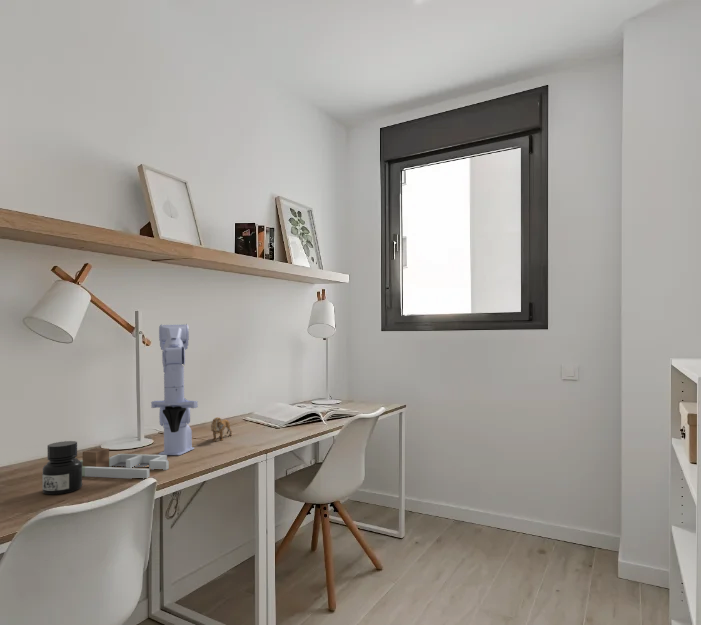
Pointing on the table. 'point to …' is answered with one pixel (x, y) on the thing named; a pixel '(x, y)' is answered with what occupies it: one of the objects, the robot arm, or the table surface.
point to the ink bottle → (62, 469)
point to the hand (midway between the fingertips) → (174, 431)
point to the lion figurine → (220, 427)
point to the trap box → (128, 466)
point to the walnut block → (96, 457)
